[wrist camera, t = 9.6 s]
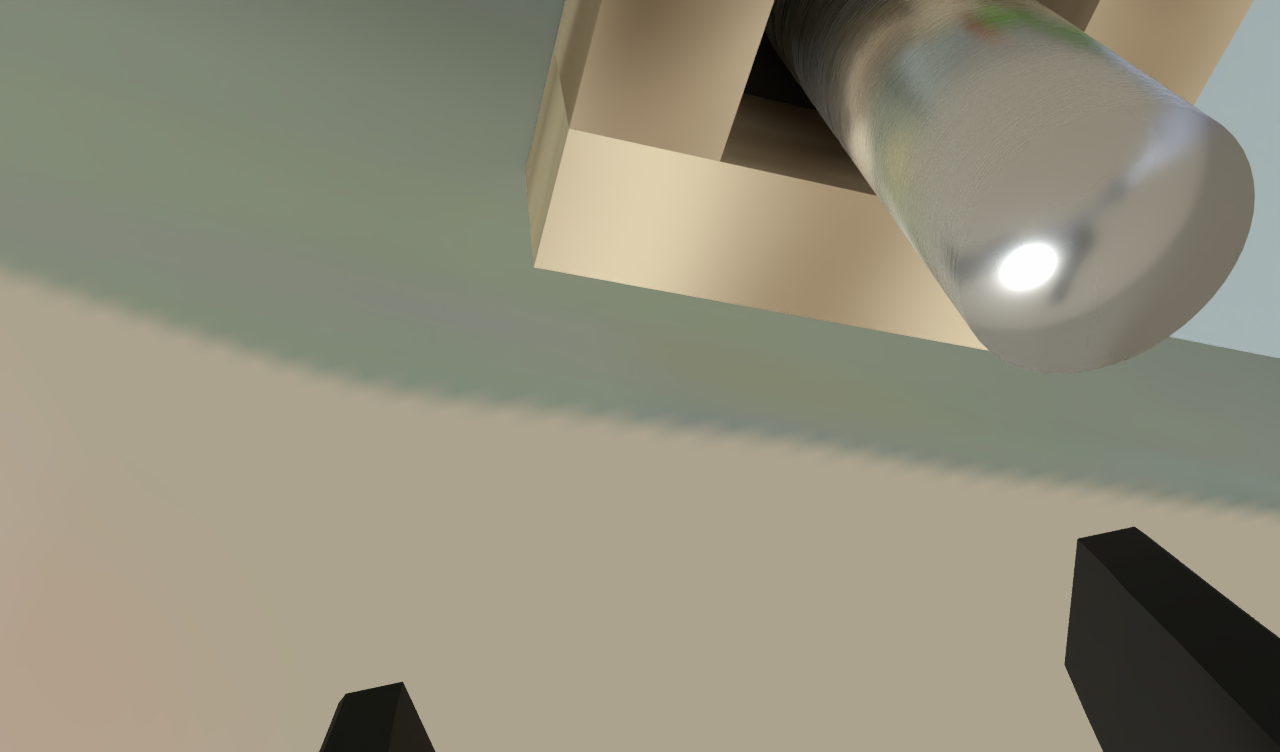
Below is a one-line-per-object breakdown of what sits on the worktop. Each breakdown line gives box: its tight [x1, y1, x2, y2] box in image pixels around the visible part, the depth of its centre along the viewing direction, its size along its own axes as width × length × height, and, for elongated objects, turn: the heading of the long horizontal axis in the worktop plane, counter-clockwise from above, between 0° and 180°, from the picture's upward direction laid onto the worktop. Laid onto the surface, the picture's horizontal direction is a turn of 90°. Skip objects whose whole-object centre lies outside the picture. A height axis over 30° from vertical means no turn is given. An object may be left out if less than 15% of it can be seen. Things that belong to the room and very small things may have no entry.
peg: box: [765, 0, 1255, 373], centre depth 14 cm, size 3×3×9 cm
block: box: [525, 0, 1254, 351], centre depth 16 cm, size 9×9×4 cm
